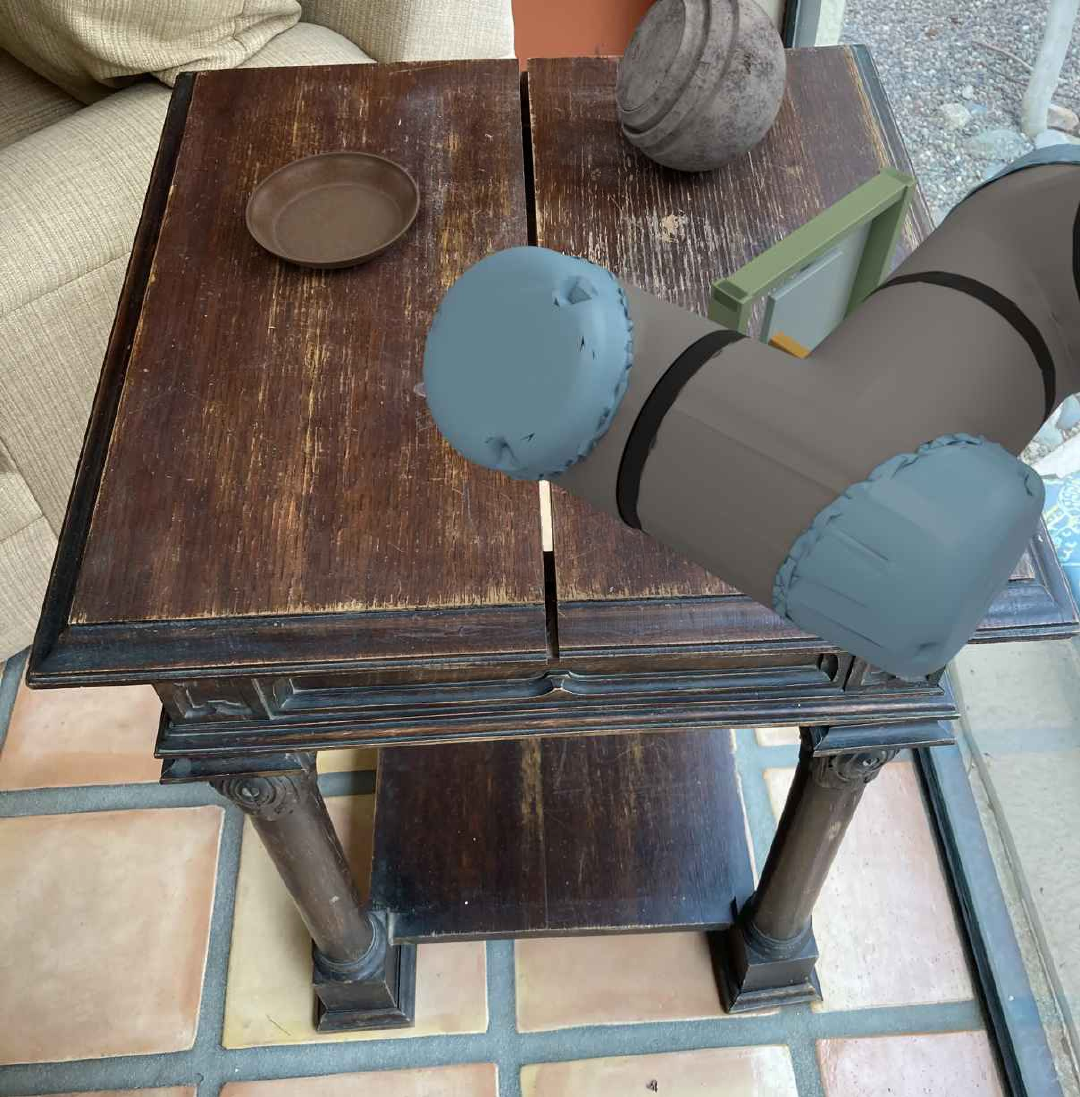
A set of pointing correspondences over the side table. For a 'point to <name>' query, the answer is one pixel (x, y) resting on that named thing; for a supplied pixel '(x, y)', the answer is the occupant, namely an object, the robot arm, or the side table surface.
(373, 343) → the side table surface
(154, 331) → the side table surface
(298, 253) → the saucer
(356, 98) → the side table surface
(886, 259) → the window frame
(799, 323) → the window pane
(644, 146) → the decorative orb
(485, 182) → the side table surface
